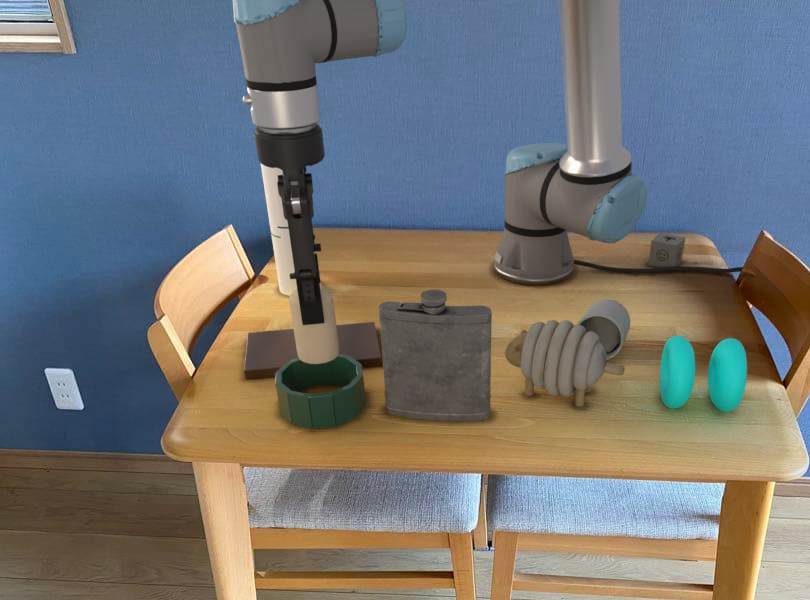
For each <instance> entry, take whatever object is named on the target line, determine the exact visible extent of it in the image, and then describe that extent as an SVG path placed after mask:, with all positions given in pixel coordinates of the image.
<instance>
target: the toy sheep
mask: <svg viewBox="0 0 810 600" xmlns="http://www.w3.org/2000/svg"><path fill="white" fill-rule="evenodd" d="M574 325H575V326H574ZM504 355H505V356H504V357H505V359H506V360H507V362H508V363H509V364H510V365H512V366H514V367H517V368H520V371H521V374H522V376H523V377H524V378H525V379H524V380H525V381H524V395H525V396H526V397H531V396H533V395H534V391H535V388H536V389H538V390H545V392H546V393H547V394H548V395H549V396H551V397H556V396H559V395H561V396H563V397H565V398H567V397H571V396H572V395H573V394H574V393H575V399H574V405H575V406H576V407H578V408H582V407H583V406H584V405H585V396H586V393H589V392H591V391H592V387H593V386H595V385H596V384H598V382H599V381H600V380H601V379H602V377H603V376H604V374H605V373H606V374H610V375H615V376H619V377H620V376H623V375H624V374H625V373H624V372H625V366H624V365H623V364H619V363H616V362H611V361H608V360H607V357H606V352H605V349H604V347H603V345H602V344H601V343H600V341H599V336H598V335H597V334H596V333H595V332H592V331H590V332H587V331H586V329H585V327H584V326H582V325H576V324H574V323H573V322H572V321H571V320H567V319H565V320H562V321H560V322H559V321H558V320H556V319H549V320H548V321H546V322H543V321H535V322H534V323H533V324H532V325H530V327H529V329H528V330H526V329H522V330H521V331H520V334H519V335H517V336H516V337H514V338H513V339H511V341H510V342H509V343H508V344H507V345H506V348H505V351H504Z"/></svg>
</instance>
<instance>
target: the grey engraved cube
mask: <svg viewBox="0 0 810 600" xmlns="http://www.w3.org/2000/svg"><path fill="white" fill-rule="evenodd" d="M685 242H686V237H684V236H680V235H675V234H669V233H665V232H659V233H658V234H657V235H656V236H655V237H653V238H652V240H651V241H650V248H649V249H650V250H649V257H648V263H647V265H648V266H649V267H653V268H662V267H674V266H680V264H681V263H682V261H683V257H684V256H683V254H684V248H685Z"/></svg>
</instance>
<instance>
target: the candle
mask: <svg viewBox="0 0 810 600" xmlns="http://www.w3.org/2000/svg"><path fill="white" fill-rule="evenodd" d="M320 291H321V299H322V307H323V314H324V323H322V324H311V325H303V324H302V318H301V311H300V304H299V297H298V290H297V289H295V290H294V291H293V292H292V293H291V295H290V296H288V301H289V302H288V303H289V309H290V315H291V322H292V329H294V335H295V341H296V348H297V354H298V357H299V359H300V360H301V361H303V362H305V363H309V364H321V363H326V362H329V361H331V360H333V359H335V358H336V357H337V356H338V354H339V343H338V335H337V326H336V325H337V318H336V310H335V301H334V294H333V292H332V291H331V290H330V289H329V288H327V287H326V286H325V285H323V284H322V283H320Z"/></svg>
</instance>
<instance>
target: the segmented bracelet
mask: <svg viewBox="0 0 810 600" xmlns="http://www.w3.org/2000/svg"><path fill="white" fill-rule="evenodd" d="M274 382H275V390H276V395H277V403H278V407H279V414H280V416H281V417H283V419H285V420H286V421H288V423H289V424H291V425H293V426H297V427H302V428H305V429H311V430H315V429H324V428H335V427H339V426H341V425H343V424H346V423H348V422H350V421H352V420H354V419H356V418H357V417H358V416H359V415H360V414H361V413H362V411H363V410H364V409H365V408H366V406H367V401H366V390H365V389H366V388H365V380H364V372H363V368H362V364H361V363H359V362H358V361H356V360H355V359H353V358H352V357H350V356H348V355H343V354H338V356H337V357H336V358H335V359H333V360H331V361H329V362H326V363H321V364H309V363H305V362H303V361H301V360H300V359H299V357H298V358H296V359H293V360H290V361H288V362H287V363H286V364H284V365H283V366H282V367H281V368H280V369H279V370H278V371H277V372H276V376H275V381H274ZM321 386H323V387H324V386H335V387H339V388H338V389H337V388H336V389H335V390H332V391H329V392H317V393H307V392H302V391H305V390H308V389H310V388H313V387H321Z"/></svg>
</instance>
